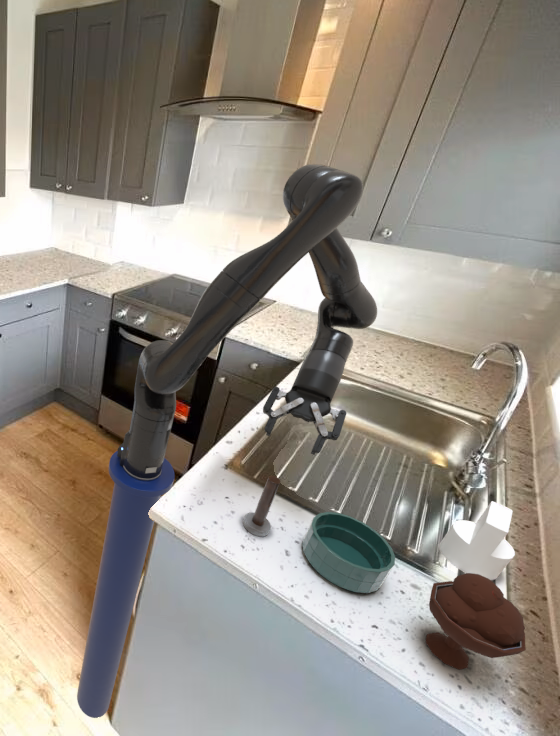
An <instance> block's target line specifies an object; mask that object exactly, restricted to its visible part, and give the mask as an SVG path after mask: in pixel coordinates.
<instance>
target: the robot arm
mask: <svg viewBox="0 0 560 736" xmlns="http://www.w3.org/2000/svg"><path fill="white" fill-rule="evenodd" d="M363 194H364V182H363V180H362V179H361V178H360V177H359V176H358V175H355V174H353V173H350V172H347V171H346V170H341V169H338V168H335V167H331V166H330V165H324V164H321V163H320V164H319V163H309V164H306V165H302V166H300V167H299V168H297V169H296V170H295V171H294V172H293V173H292V174H291V175H290V176H289V177H288V179H287V181H286V182H285V184H284V186H283V191H282V202H283V205H284V207H285V209H286V212H287V213H288V215H289V217H290V219H291V220H292V221H291V222H290V223H289V224H288V225H287V226H286V227H285V228H284V230H282V231H280V233H279V234H277V235H276V236H275V237H274V238H272V239H271V240H269V241H267V242H265V243H263V244H261V245H260V246H258V247H256V248H254V249H251V250H249V251H247V252H245V253H244V254H241V255H240V256H238V257H236V258H234V259H233V260H232V261H230V262H229V263H228V264H226V265H225V266H224V268H223V269H222V270H221V271H220V272H219V273H218V274H217V276H216V277H215V278H214V279H213V280H212V281H211V282H210V283H209V285H208V286H207V287H206V288H205V290H204V291H203V292H202V294H201V296H200V298H199V300H198V302H197V305H196V306H195V309H194V311H193V313H192V315H191V317H190V319H189V321H188V324H187V325H186V327H185V328H184V330H183V331H182V333H180V335H179V336H178V337H177V338H176V339H175V340H174V341H173V342H172V341H170V340H164V339H163V340H161V339H160V340H155V341H152V342H150V343H149V344H147V345H146V346H145V347H144V348H143V350H142V352H141V353H140V357H139V359H138V365H137V372H136V377H135V384H134V401H133V408H132V414H131V419H130V424H129V429H128V431H127V432H126V433H125V434H124V438H123V442H122V444H120V445H119V446H118V448H117V451H118V455H117V456H118V457H120V458H121V460H120V466H122V467H123V468H124V470H125V472H126V473H127V474H128V475H130V476H131V477H133V478H135V479H137V480H141V481H152V480H155V479H157V478H158V477H159V476H160V475H161V471H162V465H163V461H164V458H165V456H166V452H167V448H168V443H169V440H170V435H171V431H172V427H173V423H174V419H175V414H176V410H177V396H176V395H177V394H176V392H178V391H179V390H181V389H182V388H183V387H184V386H185V385H186V384H187V383H188V382H189V381H190V379H191V378H192V376H193V375H194V374H195V373H196V372H197V370H198V369H199V368H200V366H202V364H203V363H204V361H205V360H206V358H207V357H208V356H209V355H210V354H211V353H212V351H214V349H215V348H216V347H217V346H218V345H219V344H220V343H221V342H222V341H223V340H224V339H225V338H226V337H227V336H228V335H229V334H230V332H232V330H233V329H234V328H235V327H236V326H237V325H238V324H239V323H240V322H241V321H242V320H243V319H244V318H245V317H246V316H247V315H248V314H250V313H251V311H252V310H253V309H254V308H256V306H257V305H258V304H259V303H260V302H261V301H263V299H264V298H265V297H266V295H267V294H268V293H269V292H270V291H271V290H272V289H273V288H274V287H275V285H276V284H278V282H279V281H280V280H282V278H283V277H285V275H287V274H288V273H289V272H290V271H291V270H292V269H293V268H294V267H295V266H296V264H298V263H299V262H300V261H301V260H302V259H303V258H304V257H305V256H306V255H307V254H309V258H310V260H311V262H312V265H313V268H314V272H315V274H316V279H317V282H318V285H319V289H320V292H321V294H322V296H323V297H324V298H323V299H322V300H321V301H320V303H319V305H318V311H317V326H316V331H315V337H314V339H313V342H312V344H311V346H310V348H309V351H308V353H307V354H306V356H305V358H304V359H303V361H302V364H301V365H300V367H299V370H298V373H297V375H296V377H295V379H294V382H293V384H292V386H291V388H290V390H289V391H288V392H286V391H284V390H282V389H280V387H279V386H274V387H273V388H272V390H271V391H270V394H269V395H268V397H267V398H266V401H265V403H264V405H263V407H262V413H263V414H265V415H266V416H267V417H268V419H267V421H266V424H265V426H264V432H265V435H266V436H267V437H271V435H272V433H273V430H274V428H275V425H276V423H277V420H278V419H280V418H282V417H285V416H288V415H291V416H292V417H293V418H296V419H301V420H303V421H305V422H307V423H310V422H311V423H313V425H314V428H315V429H316V431H317V437H316V439H315V442H314V443H313V446H312V449H311V452H310V454H311V455H313V456H315V455H316V453H317V454H320V453H321V451H322V449H323V447H324V444H325V442H326V441H327V440H332V441H337V440H338V439H339V437H340V435H341V433H342V429H343V426H344V422H345V420H346V416H347V410H345V409H339V410H338V409H336V408H332V407H331V403H332V401H333V399H334V396H335V394H336V392H337V390H338V386H339V384H340V383H341V380H342V377H343V374H344V371H345V368H346V367H345V366H346V363H347V360H348V358H349V356H350V354H351V351H352V349H353V346H354V339H353V337H352V336H351V335H349V334H348V333H347V332H344V331H342V330H340V329H336V327H337V328H346V329H354V330H355V329H356V330H364V329H366V328H369V327H370V326H372V325H373V324H374V323H375V321H376V319H377V317H378V306H377V303H376V300H375V298H374V297H373V295H372V294H371V292H370V291H369V289H367V288H366V286H365V285H364V283H363V282H362V280H361V276H360V270H359V267H358V262H357V258H356V257H355V254H354V252H353V251H352V249H351V247H350V245H348V243H347V242H346V240H345V238H344V237H343V235H342V234H341V232H340V231H339V227H340V225H342V224H343V223H344V222H345V221H346V220H347V219H348V218H349V217H350V216H351V214H352V213H353V212H354V211H355V210H356V208H357V207H358V205H359V203H360V201H361V199H362V197H363ZM282 398H284V400H285V404H283V405H282V406H280V407H279V408H277V409H275V410H273V409H272V408H273V406H274V405H275V402H276V401H279V400H281V399H282ZM327 415H330V416H331V419H332V421H334V424H333V428H332V431H328V430H327V427H326V424H325V420H324V417H325V416H327Z"/></svg>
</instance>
